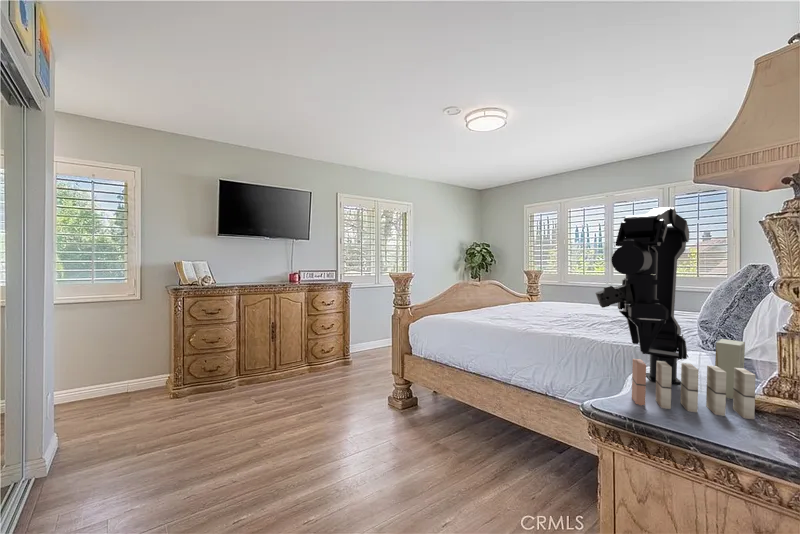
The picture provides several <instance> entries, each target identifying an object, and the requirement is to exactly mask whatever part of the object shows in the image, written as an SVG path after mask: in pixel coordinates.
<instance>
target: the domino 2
mask: <svg viewBox="0 0 800 534" xmlns="http://www.w3.org/2000/svg"><path fill="white" fill-rule="evenodd" d="M680 366H681V368H680V369H681V370H680V371H681V372H680V381H681V384H680V404H681V406H683V408H684V409H685V410H686V411H687V412H692V413H698V408H699V407H698V405H699V373H700V372H699V369H698V367H695V366H694V365H693V364H692V363H687V362H686V363H685V362H681V365H680Z"/></svg>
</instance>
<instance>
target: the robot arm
mask: <svg viewBox="0 0 800 534" xmlns="http://www.w3.org/2000/svg"><path fill="white" fill-rule="evenodd" d="M687 221H688V220H686V219H685V218H683V217H682V216H681V215H680V214H679V215H678V214H677V211H676V209H675V207H671V206H669V207H668V206H666V207H656V208H652V209H650V210H649V211H648V212H646V213H645V214H641V215H639V214H638V215H626V216H625V217H624V219H623V221H621V222H620V226H619V228H618V233H617V236H616V241H615V247H618V248H616V250H615V251H614V252H613V254H612V256H611V264H612V267H613V268H614V270H615V271H617V272H618V273H619V274H623V275H625V277H624V278H623V279H622V280H621V283H622V285H621V284H620V285H618V286H613V285H610V286H605V287H603V290H600V291H597V292H595V295H596V298H597V301H598V303H599V304H598V305H599V306H600V307H601V308H602V309H603V308H604V309H605V308H608V307H610V306H612V305H615V304H617V309H618V312H619V313H620V314H621V315H622V316H623V317H625V318H626V320H627V325H628V329H629V335H630V338H631V343H632V344H633V345H639V348H640V349H639V350H640V352H641V353H642V355H649V372H646V378H648V380H649V381H650V382H651V381H652V382H656V361H665V362H666V363H667V364H669V365H670V366H671V367H672V377H671V384H677V385H681V379H679V378H678V377H677V374H678V372H677V370H678V369H677V368H678V367H677V366H678V360H687V359H688V350H687V349H688V348H687V342H686V340H685V338H684V335H683V334H682V328H681V326H680V325H679V323H678V321H677V320H676V318H675V306H676V305H675V303H676V289H677V286H676V285H677V268H678V260H679V258H680V257H681V256H682V255H683V253H684V252H685V251H686V249H687V248H686V246H687V243H689V240H690V230H689V226H688V222H687Z"/></svg>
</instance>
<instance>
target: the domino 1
mask: <svg viewBox="0 0 800 534" xmlns="http://www.w3.org/2000/svg"><path fill="white" fill-rule="evenodd" d="M646 373H647V364H646V363H645V362H644V360H642V359H641V358H640V359H638V358H632V375H631V379H632V380H631V399H632V401H633V402H634V401H635V402H634V404H639V405H638V406H642V405H645V406H646V387H647V384H646V383H647V376H646Z"/></svg>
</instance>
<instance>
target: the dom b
mask: <svg viewBox="0 0 800 534" xmlns="http://www.w3.org/2000/svg"><path fill="white" fill-rule="evenodd" d="M671 377H672V367H671V366H670V365H669V364H667V363H666V362H665V361H656V381H655V402H656V403H657V404H658V405H659V407H660V408H661V409H667V410H671V409H672V383H671Z"/></svg>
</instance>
